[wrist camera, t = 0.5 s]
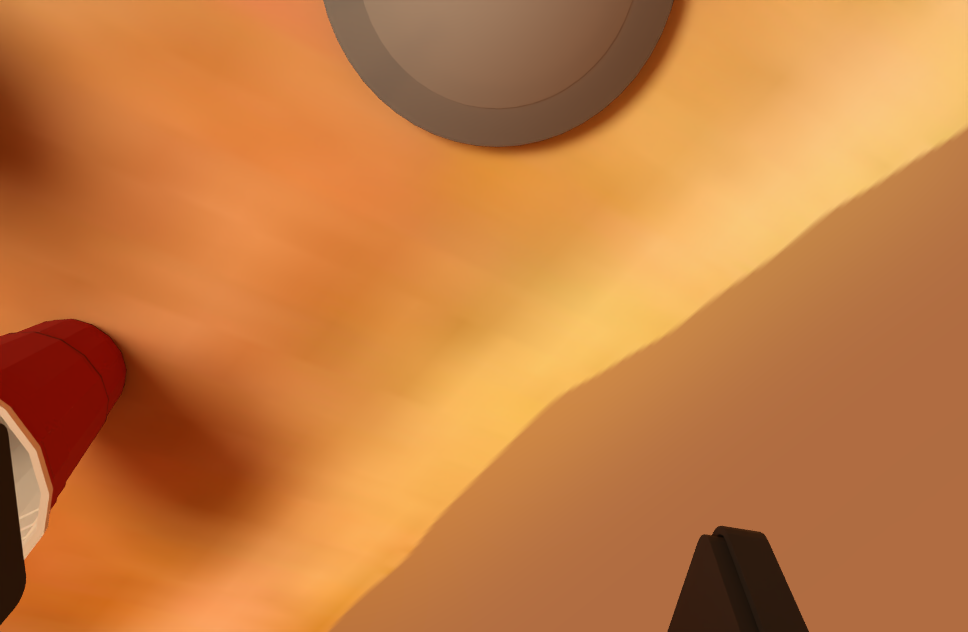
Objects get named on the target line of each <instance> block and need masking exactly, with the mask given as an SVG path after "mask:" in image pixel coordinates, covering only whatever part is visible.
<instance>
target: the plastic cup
mask: <svg viewBox="0 0 968 632" xmlns="http://www.w3.org/2000/svg"><path fill="white" fill-rule="evenodd" d="M125 377H126V366H125V363H124V360H123V356H122V353H121V351H120V350H119V349H118V347H117V346H116V345H115V344H114V342H113V341H112V340H111V338H110V337H109V336H108V335H106V334H105V333H103V332H102V331H100V330H99V329H97V328H96V327H95V326H93V325H91V324H88V323H84V322H81V321H78V320H74V319H66V320H53V321H46V322H43V323H40V324H38V325H35V326H32V327H30V328H27V329H25V330H22V331H20V332H17V333H9V334H6V335H3V336H0V423H1V424H4V425H5V427H6V428H7V431H8V435H9V443H10V451H11V459H12V467H13V475H14V483H15V491H16V499H17V507H18V516H19V524H20V532H21V540H22V548H23V556H24V559H25V558H26V557H27V555H28V554H29V553H30V551H31V550H32V549H33V548H34V546H35V545H36V544H37V542H38V541H39V540H40V538H41V537H42V536H43V534H44V533H45V531H46V529H47V527H48V521H49V514H50V510H51V508H52V507H53V506H54V504H55V503H56V501H57V497H58V495H59V494H60V493H61V491H62V490H63V489H64V487H65V484H66V481H67V479H68V478H69V476H70V475H71V473H72V472H73V470H74V469H75V467H76V466H77V464H78V463H79V461H80V459H81V458H82V456H83V455H84V453H85V452H86V450H87V449H88V447H89V446H90V444H91V443H92V441H93V440H94V438H95V437H96V435H97V434H98V432H99V430H100V429H101V427H102V426H103V424H104V423H105V421H106V418H107V415H108V413H109V412H110V410H111V409H112V407H113V406H114V404H115V403H116V401H117V400H118V398H119V396H120V395H121V393H122V389H123V387H124V384H125Z"/></svg>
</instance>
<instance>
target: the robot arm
mask: <svg viewBox="0 0 968 632" xmlns="http://www.w3.org/2000/svg"><path fill="white" fill-rule="evenodd" d="M25 584H26V572H25V564H24V556H23V548H22V540H21V532H20V524H19V516H18V507H17V499H16V491H15V483H14V475H13V467H12V459H11V451H10V443H9V435H8V431H7V428H6V427H5V425H4V424H1V423H0V625H1V624H2V623H3V621H4V620H5V619H6V618H7V617H8V615H9V614H10V613H11V612H12V611H13V609H14V608H15V607H16V605H17V604H18V603H19V601H20V599H21V597H22V595H23V592H24V589H25ZM668 632H809V631H808V629H807V626H806V624H805V622H804V620H803V618H802V615H801V613H800V611H799V609H798V606H797V604H796V602H795V600H794V597H793V595H792V593H791V591H790V589H789V586H788V584H787V582H786V580H785V577H784V575H783V573H782V571H781V569H780V567H779V564H778V562H777V560H776V557H775V555H774V553H773V551H772V548H771V546H770V544H769V542H768V540H767V538H766V536H765V535H764V534H763V533H761V532H757V531H751V530H744V529H738V528H732V527H725V526H719V527H717V528H716V529H715V531H714V532H713V534H712V535H702V536H701V537H700V539H699V541H698V543H697V546H696V549H695V552H694V555H693V558H692V561H691V564H690V567H689V570H688V573H687V576H686V579H685V582H684V585H683V587H682V590H681V593H680V596H679V599H678V602H677V605H676V608H675V611H674V614H673V617H672V620H671V623H670V626H669V629H668Z"/></svg>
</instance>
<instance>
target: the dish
mask: <svg viewBox="0 0 968 632" xmlns="http://www.w3.org/2000/svg"><path fill="white" fill-rule="evenodd" d="M324 4H325V8H326V11H327V15H328V18H329V21H330V23H331V26H332V28H333V30H334V33H335V35H336V38H337V40H338V42H339V44H340V46H341V48H342V49H343V51H344V53H345V55H346V57H347V58H348V60H349V62H350V63H351V65H352V66H353V68H354V69H355V70H356V72H357V73H358V75H359V76H360V77H361V79H362V80H363V81H364V82H365V84H366V85H367V86H368V87H369V88H370V89H371V90H372V91H373V92H374V93H375V94H376V95H377V97H378V98H379V99H381V100H382V101H383V102H384V103H385V104H386V105H388V106H389V107H390V108H391V109H392V110H394V111H395V112H396V113H397V114H399V115H400V116H402V117H403V118H405V119H407V120H408V121H410V122H411V123H413V124H414V125H416V126H418V127H420V128H422V129H424V130H426V131H428V132H430V133H433V134H435V135H437V136H440V137H443V138H446V139H450V140H453V141H456V142H461V143H466V144H471V145H476V146H492V147H504V146H517V145H524V144H529V143H533V142H538V141H542V140H545V139H548V138H551V137H554V136H557V135H559V134H562V133H564V132H566V131H568V130H570V129H572V128H574V127H576V126H578V125H580V124H582V123H584V122H585V121H587V120H588V119H590V118H591V117H593V116H594V115H596V114H597V113H599V112H600V111H602V110H603V109H604V108H605V107H606V106H607V105H609V104H610V103H611V102H612V101H613V100H614V99H615V98H617V97H618V96H619V95H620V94H621V93H622V92H623V91H624V89H625V88H626V87H627V86H628V85H629V84H630V83H631V82H632V80H633V79H634V78H635V77H636V76H637V74H638V73H639V71H640V70H641V68H642V67H643V66H644V64H645V63H646V61H647V60H648V58H649V57H650V55H651V53H652V51H653V50H654V48H655V46H656V44H657V42H658V40H659V38H660V36H661V34H662V32H663V29H664V27H665V24H666V22H667V19H668V16H669V14H670V11H671V8H672V4H673V0H324Z"/></svg>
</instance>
